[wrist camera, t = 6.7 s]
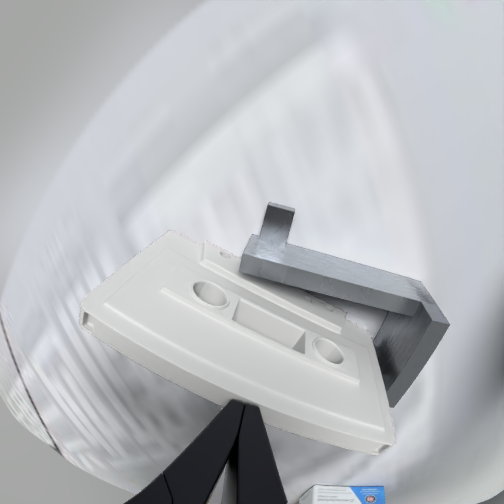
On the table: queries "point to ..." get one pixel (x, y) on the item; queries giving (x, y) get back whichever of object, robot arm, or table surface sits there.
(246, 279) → the cassette
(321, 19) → the table surface
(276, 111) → the table surface
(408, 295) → the bracket
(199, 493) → the robot arm
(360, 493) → the ink box
